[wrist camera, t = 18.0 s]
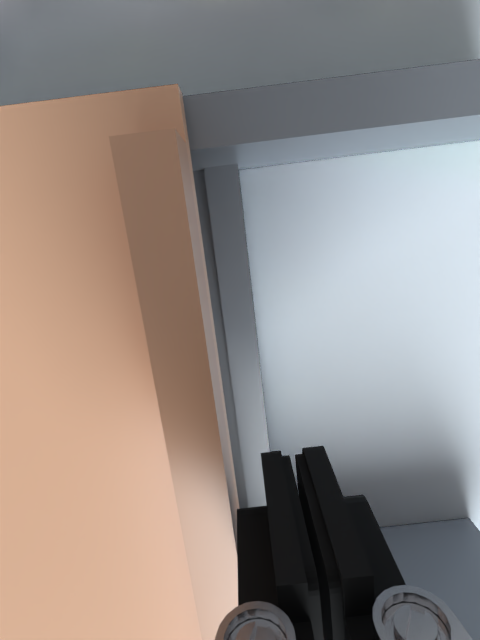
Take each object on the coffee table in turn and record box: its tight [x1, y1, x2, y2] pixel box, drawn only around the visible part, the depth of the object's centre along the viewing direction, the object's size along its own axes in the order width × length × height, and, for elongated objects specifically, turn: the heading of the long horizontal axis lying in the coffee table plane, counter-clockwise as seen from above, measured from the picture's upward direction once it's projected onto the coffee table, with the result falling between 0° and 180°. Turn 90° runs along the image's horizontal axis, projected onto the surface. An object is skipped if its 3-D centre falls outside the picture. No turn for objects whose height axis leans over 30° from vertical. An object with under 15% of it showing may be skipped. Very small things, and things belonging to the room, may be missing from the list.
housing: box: [183, 59, 480, 640], centre depth 16 cm, size 23×20×7 cm
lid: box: [0, 84, 240, 640], centre depth 11 cm, size 10×20×3 cm, turn 7°
